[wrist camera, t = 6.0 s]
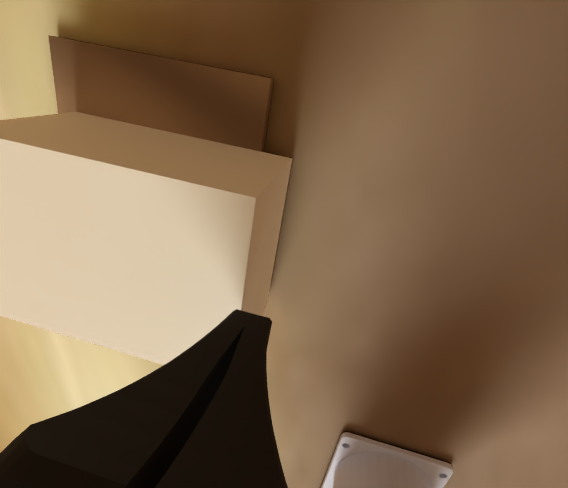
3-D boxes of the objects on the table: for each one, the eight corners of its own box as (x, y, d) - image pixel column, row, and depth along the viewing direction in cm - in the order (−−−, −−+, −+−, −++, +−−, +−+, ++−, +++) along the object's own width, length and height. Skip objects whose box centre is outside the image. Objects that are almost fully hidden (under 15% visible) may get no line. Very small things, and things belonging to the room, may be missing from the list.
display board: (238, 333, 24) (235, 339, 23) (87, 291, 25) (81, 295, 24) (273, 78, 16) (270, 78, 16) (57, 36, 18) (48, 35, 17)
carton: (231, 385, 16) (-2, 315, 17) (267, 302, 21) (91, 255, 23) (255, 197, 11) (-53, 126, 13) (292, 158, 17) (76, 111, 19)
